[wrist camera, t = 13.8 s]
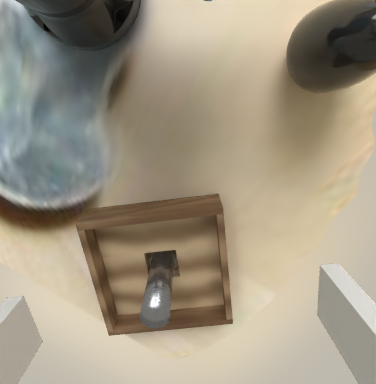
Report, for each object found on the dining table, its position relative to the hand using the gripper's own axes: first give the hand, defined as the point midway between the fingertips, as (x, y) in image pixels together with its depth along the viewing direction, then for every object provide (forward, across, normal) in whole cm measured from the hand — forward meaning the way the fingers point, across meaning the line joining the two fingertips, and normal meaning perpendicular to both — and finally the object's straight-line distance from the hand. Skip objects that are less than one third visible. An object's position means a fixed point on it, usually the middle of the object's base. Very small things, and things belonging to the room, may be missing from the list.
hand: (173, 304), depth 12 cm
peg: (+32, -6, -18) cm, 37 cm away
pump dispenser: (+32, +20, +12) cm, 40 cm away
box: (+32, -6, -18) cm, 37 cm away
